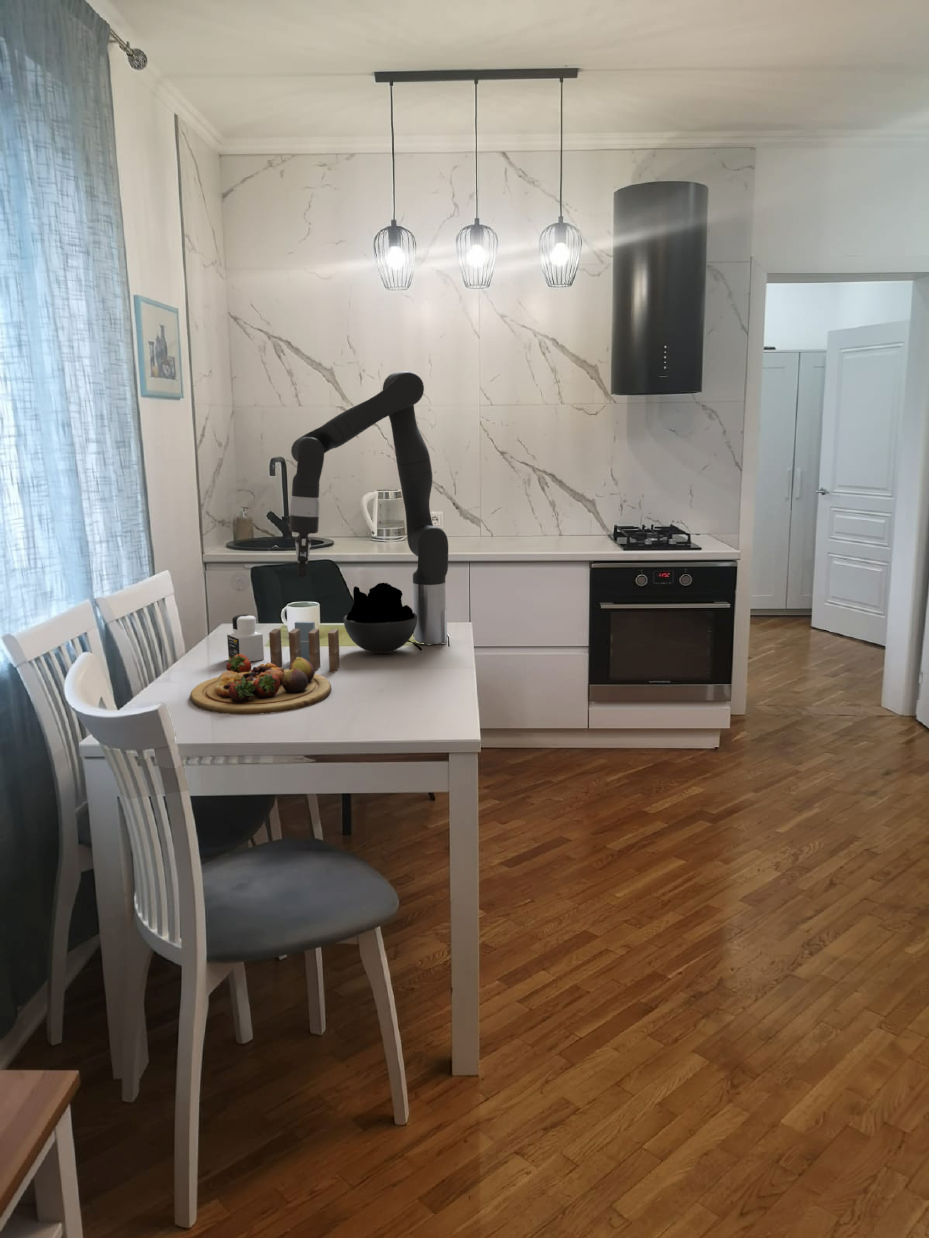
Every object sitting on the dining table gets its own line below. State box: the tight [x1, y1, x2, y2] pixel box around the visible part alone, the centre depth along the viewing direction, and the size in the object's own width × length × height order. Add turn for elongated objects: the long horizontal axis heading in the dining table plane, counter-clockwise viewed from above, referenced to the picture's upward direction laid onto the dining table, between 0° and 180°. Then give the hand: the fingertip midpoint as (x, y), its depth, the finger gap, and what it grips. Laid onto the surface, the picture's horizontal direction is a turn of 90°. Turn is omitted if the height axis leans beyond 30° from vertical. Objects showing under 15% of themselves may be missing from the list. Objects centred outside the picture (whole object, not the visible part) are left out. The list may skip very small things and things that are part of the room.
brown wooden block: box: [268, 628, 283, 668], centre depth 245 cm, size 2×5×10 cm, turn 175°
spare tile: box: [294, 621, 316, 661], centre depth 256 cm, size 2×5×10 cm, turn 85°
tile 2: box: [327, 628, 341, 673], centre depth 244 cm, size 2×5×10 cm, turn 175°
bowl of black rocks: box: [342, 582, 417, 654], centre depth 261 cm, size 20×20×19 cm
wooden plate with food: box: [189, 654, 332, 715], centre depth 222 cm, size 32×32×8 cm
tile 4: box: [288, 628, 301, 666], centre depth 245 cm, size 2×5×10 cm, turn 176°
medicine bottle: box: [226, 614, 265, 662], centre depth 256 cm, size 7×7×12 cm
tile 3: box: [308, 628, 322, 673], centre depth 245 cm, size 2×5×10 cm, turn 176°
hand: (301, 575), depth 255 cm, fingers open, 8 cm apart
